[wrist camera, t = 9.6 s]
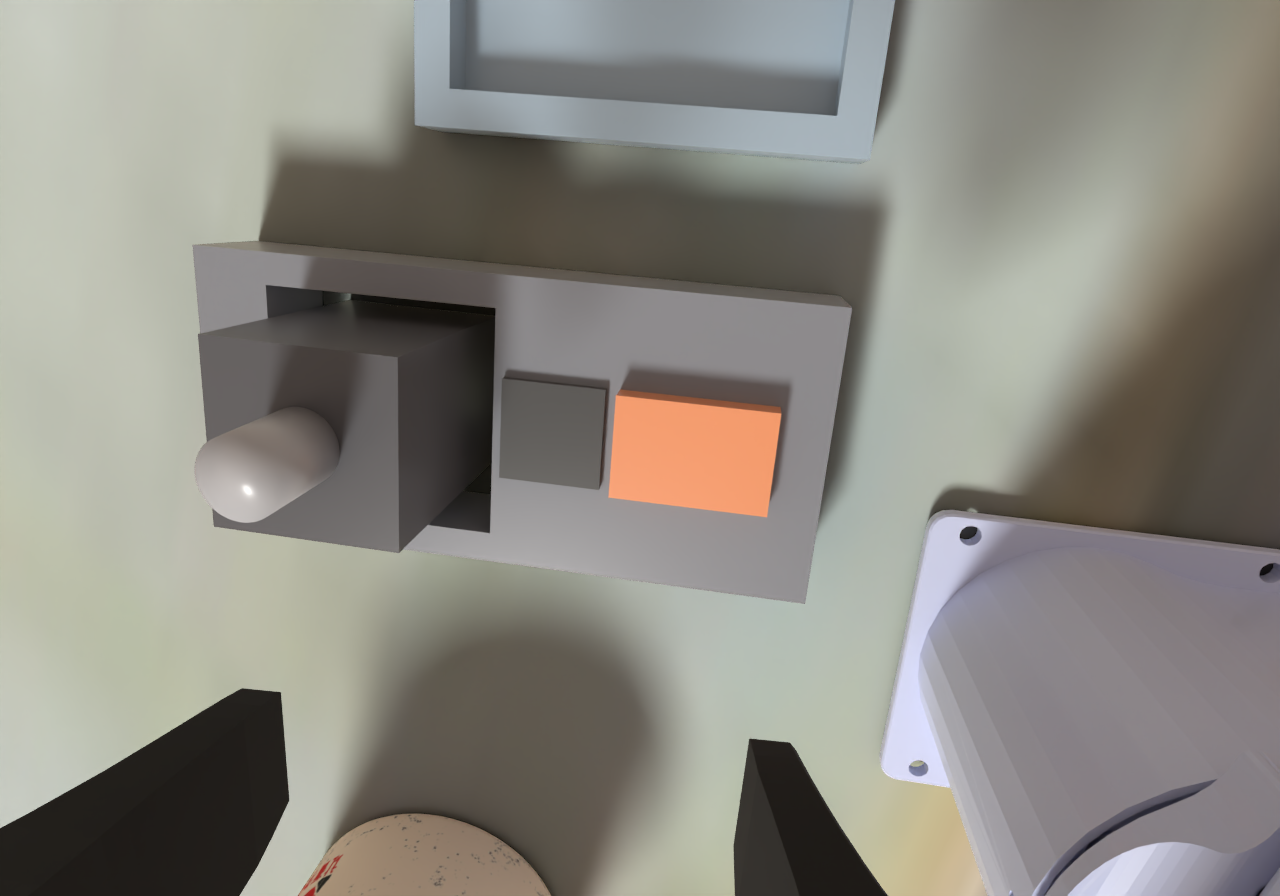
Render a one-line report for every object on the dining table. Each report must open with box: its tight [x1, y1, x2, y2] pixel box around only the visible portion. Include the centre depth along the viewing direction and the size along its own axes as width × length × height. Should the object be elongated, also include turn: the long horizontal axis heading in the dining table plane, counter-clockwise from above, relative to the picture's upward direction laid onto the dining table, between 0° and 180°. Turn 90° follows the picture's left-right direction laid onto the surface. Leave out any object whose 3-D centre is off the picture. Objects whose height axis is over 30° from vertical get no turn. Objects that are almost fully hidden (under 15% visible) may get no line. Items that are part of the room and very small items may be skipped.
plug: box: [195, 300, 495, 553], centre depth 17 cm, size 4×4×8 cm
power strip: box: [193, 241, 852, 604], centre depth 19 cm, size 15×7×3 cm, turn 85°
